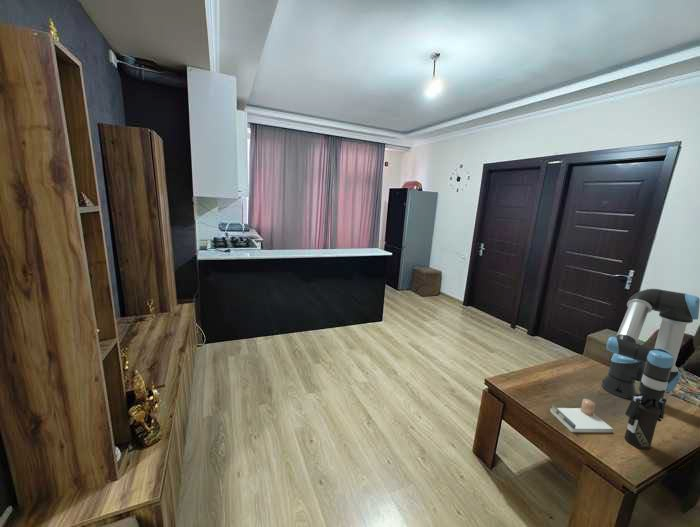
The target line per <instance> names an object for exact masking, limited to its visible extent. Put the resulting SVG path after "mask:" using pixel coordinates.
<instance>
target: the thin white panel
mask: <svg viewBox="0 0 700 527" xmlns="http://www.w3.org/2000/svg"><path fill="white" fill-rule="evenodd" d="M549 412H550V413H551V414H552V415H553V416H554V417H556V419H557V420H559V421H560V423H561V424H563V425H564V426H565V427H566V428H567V429H568V430H569V431H570V432H571V433H613V430H614V429H613V427H611V426H610V425H609V424H608V423H606V422H605V421H604V420H603V419H602V418H600V417H599V416H597V415H596V414H595V413H593V416H589V415H586V414H584V413H582V412H581V407H575V408H574V407H557V406H555V405H554V404H551V406H550V410H549Z"/></svg>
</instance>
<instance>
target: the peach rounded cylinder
mask: <svg viewBox="0 0 700 527" xmlns="http://www.w3.org/2000/svg"><path fill="white" fill-rule="evenodd" d="M580 408H581V412H582V413H584V414H586V415H589V416H593V413H594V412H595V409H596V402H595V401H593V400H591V399H589V398H583V399H582V402H581V406H580ZM594 414H595V413H594Z"/></svg>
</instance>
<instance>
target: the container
mask: <svg viewBox="0 0 700 527" xmlns="http://www.w3.org/2000/svg"><path fill="white" fill-rule="evenodd" d="M641 404H642V403H641ZM643 405H644V404H643ZM638 409H640V410H641V414H640V415H639V417H638V418H637V420H638V423H637V426H636V430H635V433H632V432H631V431H630V430H628V429H627V428H626V431H625V433H624V434H625V435H624V440H625V441H626V442H627V443H628V444H629V445H631V446H633V447H635V448H638V449H641V450H644V451H648V450H650V449H651V446H652V443H653V439H654V434H655V430H656V428H657V423H658V420H657V419H658V415H659V414H660V413H661V410H660V409H659V408H656V407H654V406H648V407H647V408H644V407H642V406H641V405H639V407H638Z"/></svg>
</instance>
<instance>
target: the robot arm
mask: <svg viewBox="0 0 700 527" xmlns="http://www.w3.org/2000/svg"><path fill="white" fill-rule="evenodd" d="M626 306H627V309H626V312H625V314H624V317H623V320H622V322H621V324H620V326H619V329H618V331H617V333H616V336H609V337H608V339H607V342H606V346H605V348H606V351H608V352H611V353H613V354H612V357H611V358H610V363H609V369H608V372H607V375H606V376H604V379H603V380H602V381H601V382H600V383H601V384H600V386H601V388H602V389H604V390H605V391H606V392H607V393H610V394H612V395H614V396H616V397H619V398H623V399H627V400H631V401H630V403H629V405H628V407H627V409H626V411H625V416H627V417H628V421H627V427H626V430H627V429H628V430H630V431H631V432H632V433H635V430H636V426H637V423H638V420H637V418H638V417H639V415H640V414H641V410H640V409H638V407H639V405H641V406H642V407H644V408H647V407H648V406H654V407H656V408H659V409H660V410H661V413H660V414H659V415H658V419H657V422H661V421H662V420H664V418H665V407H666V402H667V399H666V398H664V396H665V393H666V392H668V393H671V392H673V391H674V390H675V389H676V388H677V385H678V383H679V382H680V379H681V377H682V373H681V372H679V368H678V367H677V366H676V362H677V359H678V356H679V353H680V349H681V345H682V342H683V340H684V337H685V336H684V335H685V332H686V330H687V329H686V328H687V325H690V324H692V323H693V322H694V321H695V320H698V319H699V314H700V297H699V296H697V295H692V294H690V293H689V294H688V293H685V292H684V293H683V292H678V291H672V290H665V289H660V288H647V289H643V290H640V291H639V292H636V293H634V294H633V295H631V297H630V298H629V299H628V301H627V303H626ZM652 311H654V312H659V314H658V316H659V317H660V318H661V322H660V326H659V330H658V333H657V337H656V340H655V344H654V347H650V346H645V345H644V344H640V343H637V342H638V340H639V338H640V335H641V332H642V330H643V327H644V324H645V322H646V319H647V316H648V314H650V313H651V312H652ZM636 381H637V382H640V383H639V387H638V391H639V395H638V396H637V390H636V385H635V383H636ZM641 403H642V404H641ZM643 404H644V405H643Z"/></svg>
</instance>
